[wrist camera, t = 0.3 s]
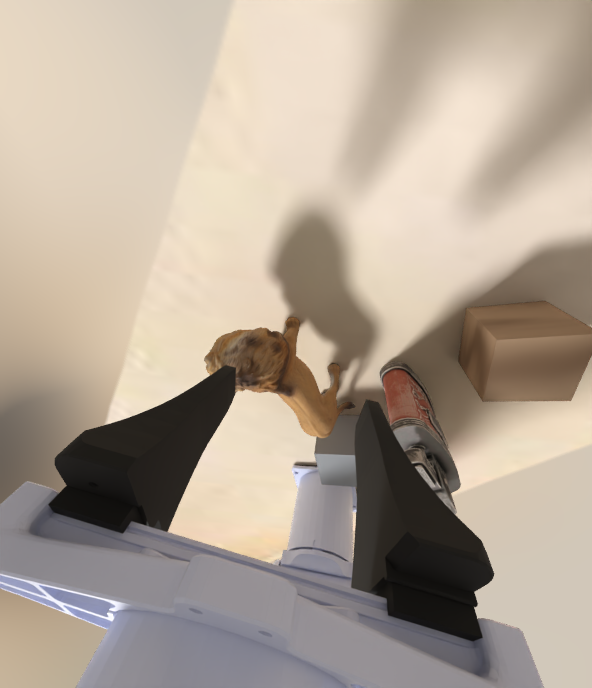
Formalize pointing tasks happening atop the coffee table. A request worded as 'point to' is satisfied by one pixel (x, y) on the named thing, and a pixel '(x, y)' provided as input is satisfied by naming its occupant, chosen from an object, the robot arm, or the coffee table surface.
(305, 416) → the lion figurine
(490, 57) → the coffee table surface
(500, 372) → the walnut block
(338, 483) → the gray block
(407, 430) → the lighter
